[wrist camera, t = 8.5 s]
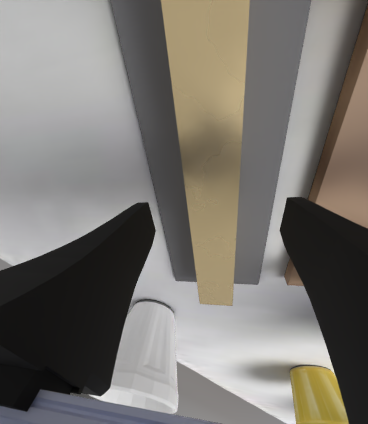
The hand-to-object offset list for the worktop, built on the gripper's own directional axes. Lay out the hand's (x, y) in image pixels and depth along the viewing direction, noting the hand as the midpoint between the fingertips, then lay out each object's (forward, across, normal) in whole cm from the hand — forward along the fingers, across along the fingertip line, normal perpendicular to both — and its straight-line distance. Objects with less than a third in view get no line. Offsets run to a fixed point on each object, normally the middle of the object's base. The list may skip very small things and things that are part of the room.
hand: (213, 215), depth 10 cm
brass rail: (+4, 0, 0) cm, 4 cm away
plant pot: (+5, -16, +37) cm, 40 cm away
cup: (+5, +9, +20) cm, 22 cm away
